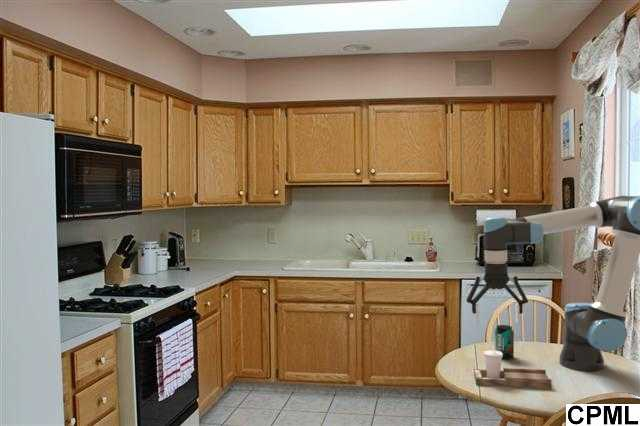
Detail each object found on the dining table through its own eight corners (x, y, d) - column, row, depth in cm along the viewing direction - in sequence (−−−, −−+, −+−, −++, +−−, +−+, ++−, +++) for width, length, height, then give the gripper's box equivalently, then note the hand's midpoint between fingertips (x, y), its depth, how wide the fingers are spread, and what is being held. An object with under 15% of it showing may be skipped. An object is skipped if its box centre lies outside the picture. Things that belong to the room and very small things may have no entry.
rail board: (545, 378, 191) (545, 369, 191) (551, 388, 182) (551, 379, 182) (474, 374, 196) (474, 366, 196) (476, 384, 187) (476, 375, 186)
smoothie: (492, 384, 186) (492, 344, 185) (479, 378, 192) (479, 339, 191) (507, 381, 189) (507, 341, 188) (494, 375, 194) (494, 337, 194)
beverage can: (517, 358, 213) (517, 328, 212) (501, 360, 211) (501, 329, 210) (507, 353, 219) (507, 323, 219) (491, 355, 218) (491, 325, 217)
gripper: (531, 260, 190) (533, 320, 192) (458, 260, 195) (459, 319, 196) (536, 263, 183) (537, 325, 184) (459, 264, 188) (461, 325, 189)
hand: (497, 322), depth 190 cm, fingers open, 13 cm apart
